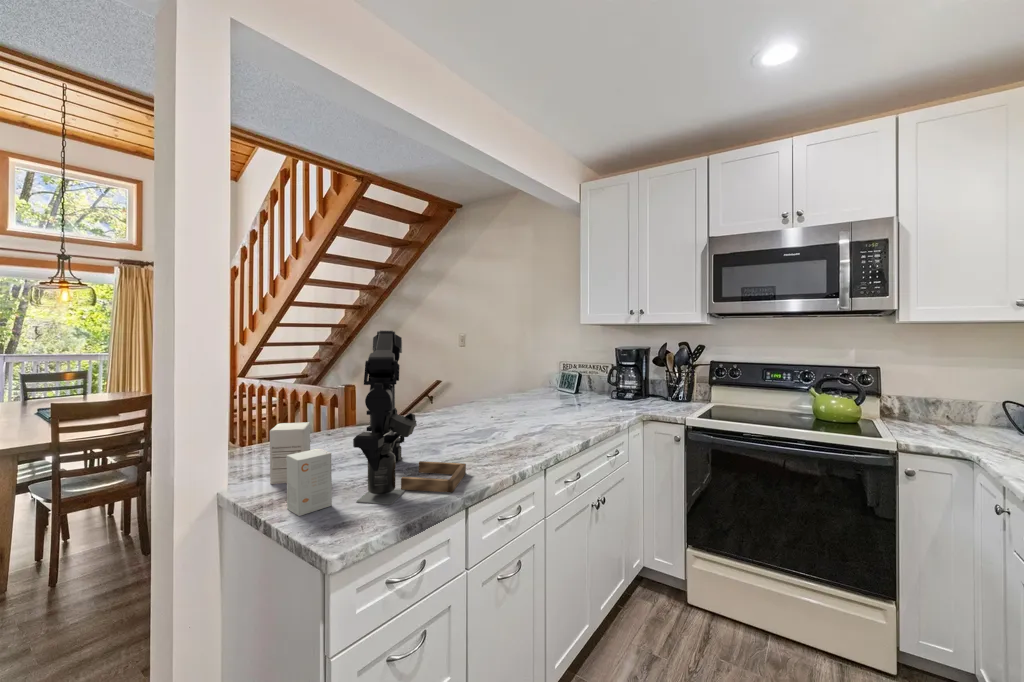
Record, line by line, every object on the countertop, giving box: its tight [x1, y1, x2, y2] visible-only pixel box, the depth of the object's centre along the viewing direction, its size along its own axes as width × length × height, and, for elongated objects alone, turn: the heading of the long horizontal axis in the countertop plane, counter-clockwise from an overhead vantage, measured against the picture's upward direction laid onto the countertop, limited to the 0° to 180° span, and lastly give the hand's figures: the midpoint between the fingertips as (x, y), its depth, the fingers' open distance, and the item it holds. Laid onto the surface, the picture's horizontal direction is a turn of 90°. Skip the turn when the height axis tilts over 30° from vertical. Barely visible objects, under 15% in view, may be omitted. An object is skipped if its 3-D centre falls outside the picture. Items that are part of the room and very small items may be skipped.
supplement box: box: [269, 421, 311, 485], centre depth 125 cm, size 9×9×15 cm
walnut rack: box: [400, 460, 467, 494], centre depth 124 cm, size 14×15×3 cm
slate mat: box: [356, 488, 406, 506], centre depth 112 cm, size 9×9×1 cm
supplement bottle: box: [367, 441, 396, 494], centre depth 112 cm, size 7×7×12 cm
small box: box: [286, 448, 333, 517], centre depth 105 cm, size 8×6×13 cm
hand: (381, 466), depth 112 cm, fingers closed on supplement bottle, 7 cm apart
